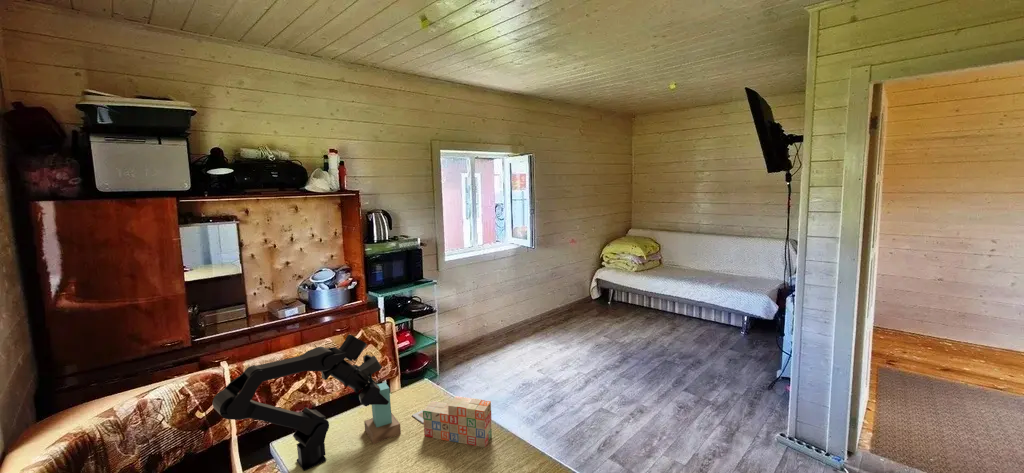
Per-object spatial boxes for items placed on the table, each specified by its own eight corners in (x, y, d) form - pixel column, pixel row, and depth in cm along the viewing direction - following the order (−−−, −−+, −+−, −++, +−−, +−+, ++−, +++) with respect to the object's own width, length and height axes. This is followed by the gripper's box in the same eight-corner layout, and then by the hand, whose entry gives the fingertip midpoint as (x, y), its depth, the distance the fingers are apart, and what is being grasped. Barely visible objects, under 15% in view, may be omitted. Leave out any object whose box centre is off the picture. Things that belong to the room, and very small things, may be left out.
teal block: (376, 427, 138) (373, 392, 136) (372, 420, 142) (369, 386, 140) (392, 422, 140) (389, 388, 139) (388, 416, 144) (385, 382, 143)
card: (423, 423, 146) (422, 422, 146) (412, 415, 151) (411, 414, 151) (446, 412, 153) (446, 410, 153) (435, 404, 158) (435, 403, 158)
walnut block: (373, 445, 135) (372, 433, 135) (365, 431, 142) (364, 420, 142) (400, 434, 140) (400, 423, 140) (391, 422, 148) (390, 411, 147)
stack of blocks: (423, 437, 138) (421, 401, 137) (432, 426, 144) (430, 392, 143) (485, 447, 132) (484, 410, 130) (492, 436, 138) (491, 400, 136)
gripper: (370, 362, 127) (408, 387, 134) (358, 342, 144) (393, 365, 150) (344, 394, 125) (385, 418, 132) (335, 370, 141) (372, 392, 148)
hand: (384, 396), depth 140 cm, fingers open, 9 cm apart
